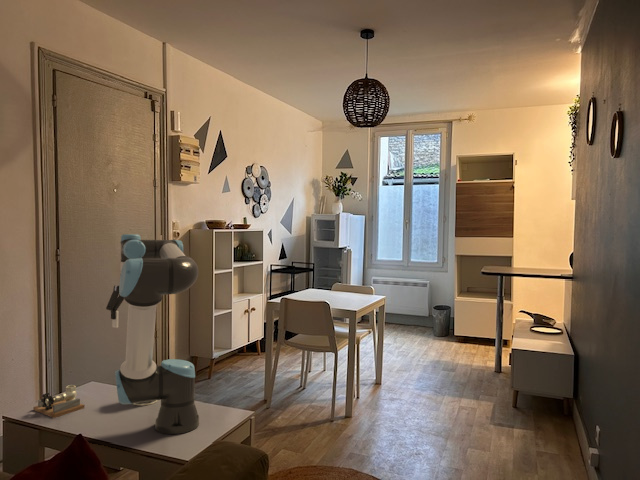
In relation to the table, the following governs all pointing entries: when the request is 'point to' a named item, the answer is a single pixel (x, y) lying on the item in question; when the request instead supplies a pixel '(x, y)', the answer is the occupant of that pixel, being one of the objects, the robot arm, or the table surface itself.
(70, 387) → the valve
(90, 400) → the table surface
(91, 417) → the table surface
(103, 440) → the table surface
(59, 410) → the board
